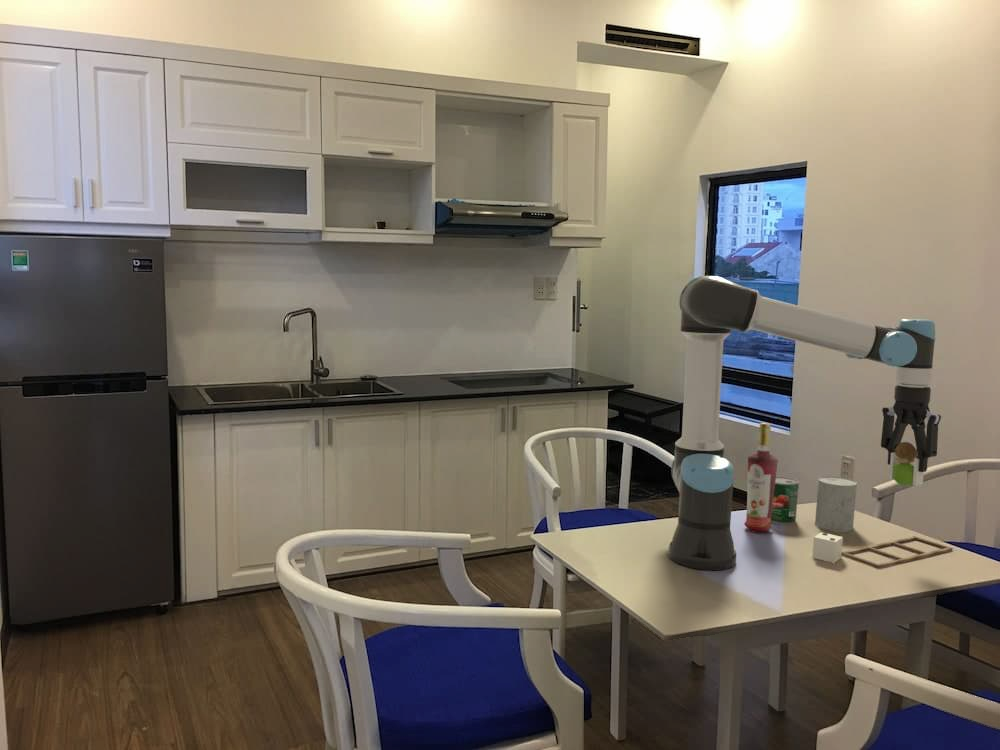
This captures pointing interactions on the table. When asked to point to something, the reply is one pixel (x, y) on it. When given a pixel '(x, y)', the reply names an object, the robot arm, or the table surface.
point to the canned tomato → (784, 501)
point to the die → (827, 547)
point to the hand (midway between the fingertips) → (905, 481)
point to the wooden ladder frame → (898, 559)
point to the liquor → (761, 484)
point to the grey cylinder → (835, 504)
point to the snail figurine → (904, 463)
